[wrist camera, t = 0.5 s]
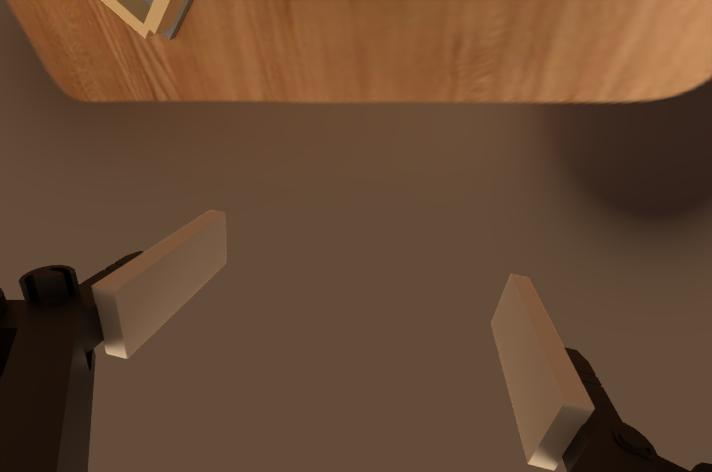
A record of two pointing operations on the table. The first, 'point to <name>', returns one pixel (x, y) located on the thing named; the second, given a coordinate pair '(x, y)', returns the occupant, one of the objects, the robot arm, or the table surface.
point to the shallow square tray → (152, 15)
